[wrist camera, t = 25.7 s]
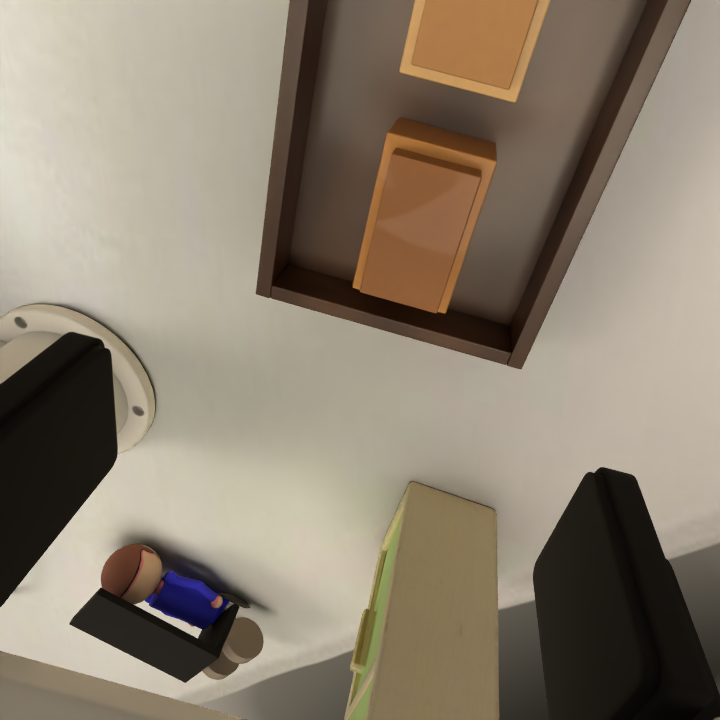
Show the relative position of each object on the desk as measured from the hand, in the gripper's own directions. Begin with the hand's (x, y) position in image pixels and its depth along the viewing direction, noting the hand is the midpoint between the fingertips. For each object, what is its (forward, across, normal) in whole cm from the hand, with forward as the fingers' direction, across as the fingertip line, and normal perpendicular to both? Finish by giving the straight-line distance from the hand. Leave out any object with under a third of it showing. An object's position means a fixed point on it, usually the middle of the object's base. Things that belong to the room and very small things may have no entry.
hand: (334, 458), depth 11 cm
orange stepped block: (+20, -1, +1) cm, 21 cm away
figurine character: (+22, +12, +40) cm, 47 cm away
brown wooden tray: (+21, -1, -4) cm, 21 cm away
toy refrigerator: (+22, -7, +24) cm, 33 cm away
